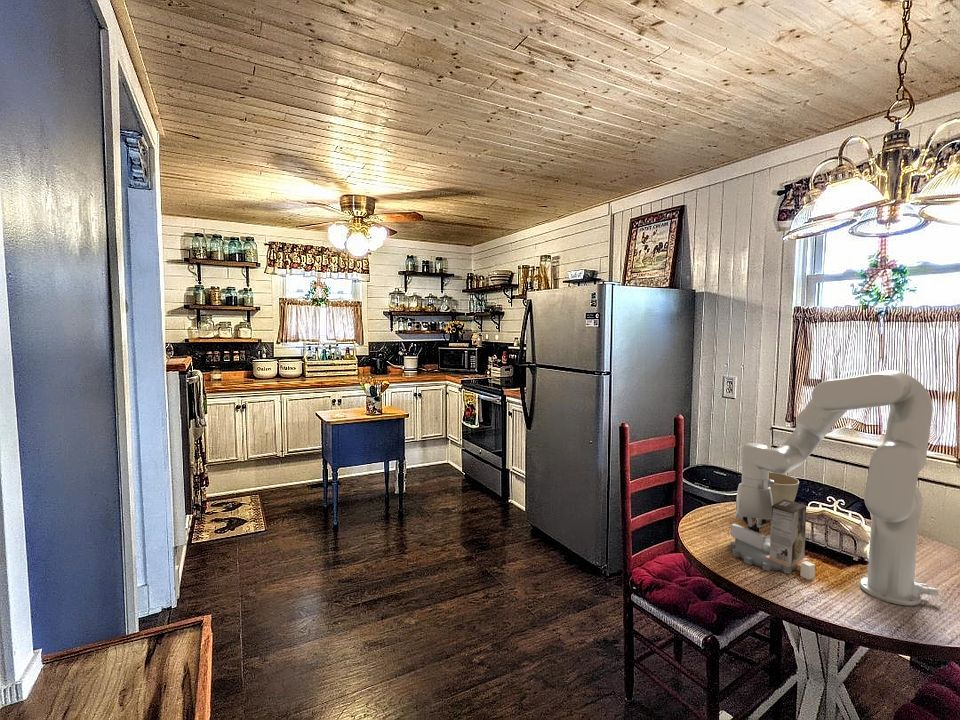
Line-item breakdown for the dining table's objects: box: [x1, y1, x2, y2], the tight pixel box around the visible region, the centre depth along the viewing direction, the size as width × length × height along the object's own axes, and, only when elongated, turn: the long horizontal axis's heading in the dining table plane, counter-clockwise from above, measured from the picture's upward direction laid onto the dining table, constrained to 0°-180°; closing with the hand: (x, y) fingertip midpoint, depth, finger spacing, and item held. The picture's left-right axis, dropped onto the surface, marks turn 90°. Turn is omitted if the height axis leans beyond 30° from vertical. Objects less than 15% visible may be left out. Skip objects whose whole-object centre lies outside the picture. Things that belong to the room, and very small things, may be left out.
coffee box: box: [769, 499, 807, 566], centre depth 145 cm, size 9×6×16 cm
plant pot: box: [769, 471, 800, 505], centre depth 180 cm, size 15×15×16 cm
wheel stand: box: [799, 561, 816, 581], centre depth 147 cm, size 15×15×4 cm
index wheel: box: [729, 523, 810, 574], centre depth 151 cm, size 21×22×6 cm
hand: (753, 537), depth 158 cm, fingers closed
